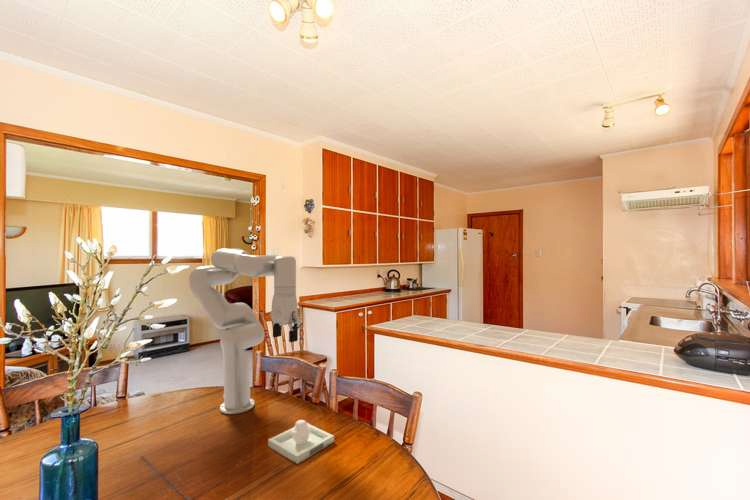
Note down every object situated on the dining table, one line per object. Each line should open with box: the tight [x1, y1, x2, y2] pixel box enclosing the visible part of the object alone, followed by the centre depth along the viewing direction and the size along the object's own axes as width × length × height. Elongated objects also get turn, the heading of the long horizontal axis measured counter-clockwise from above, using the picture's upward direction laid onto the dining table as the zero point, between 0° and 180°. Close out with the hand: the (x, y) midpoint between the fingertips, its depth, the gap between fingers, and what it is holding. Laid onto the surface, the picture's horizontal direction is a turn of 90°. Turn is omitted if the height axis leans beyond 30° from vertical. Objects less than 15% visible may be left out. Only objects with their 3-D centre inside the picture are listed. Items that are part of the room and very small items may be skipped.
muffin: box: [291, 419, 311, 445], centre depth 111 cm, size 6×6×7 cm
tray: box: [267, 422, 335, 464], centre depth 111 cm, size 15×14×2 cm
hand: (285, 339), depth 126 cm, fingers open, 9 cm apart
